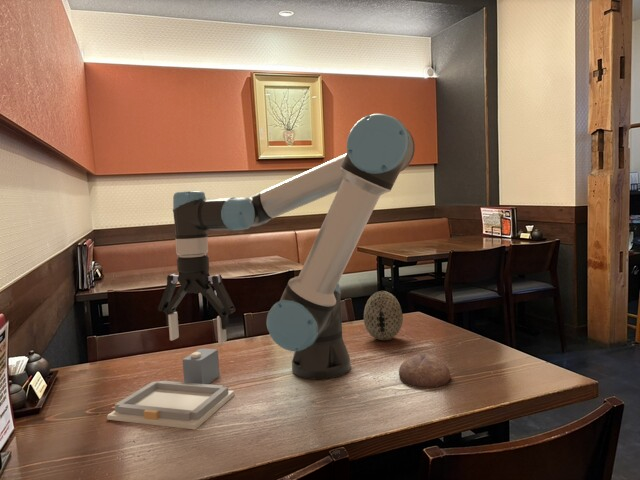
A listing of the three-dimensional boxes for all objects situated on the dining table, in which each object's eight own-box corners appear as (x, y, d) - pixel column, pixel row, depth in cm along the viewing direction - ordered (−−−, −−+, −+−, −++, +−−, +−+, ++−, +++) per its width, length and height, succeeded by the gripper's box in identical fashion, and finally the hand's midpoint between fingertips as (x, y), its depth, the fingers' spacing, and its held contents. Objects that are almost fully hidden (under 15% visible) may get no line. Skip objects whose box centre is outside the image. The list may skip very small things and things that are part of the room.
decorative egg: (404, 334, 142) (402, 287, 141) (402, 346, 131) (400, 295, 130) (367, 333, 145) (365, 287, 144) (362, 345, 134) (359, 295, 133)
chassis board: (234, 394, 103) (233, 384, 103) (195, 429, 88) (194, 417, 88) (156, 388, 110) (155, 378, 109) (107, 419, 94) (106, 408, 94)
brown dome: (447, 369, 112) (446, 348, 112) (453, 389, 101) (453, 365, 100) (398, 369, 114) (398, 348, 114) (399, 388, 102) (398, 365, 102)
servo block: (219, 376, 116) (217, 346, 115) (202, 388, 108) (200, 357, 108) (202, 374, 117) (200, 345, 117) (184, 387, 110) (182, 356, 109)
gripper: (246, 253, 110) (250, 338, 112) (158, 253, 117) (164, 333, 119) (231, 257, 103) (236, 348, 105) (139, 257, 110) (145, 342, 112)
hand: (198, 340), depth 112 cm, fingers open, 13 cm apart
